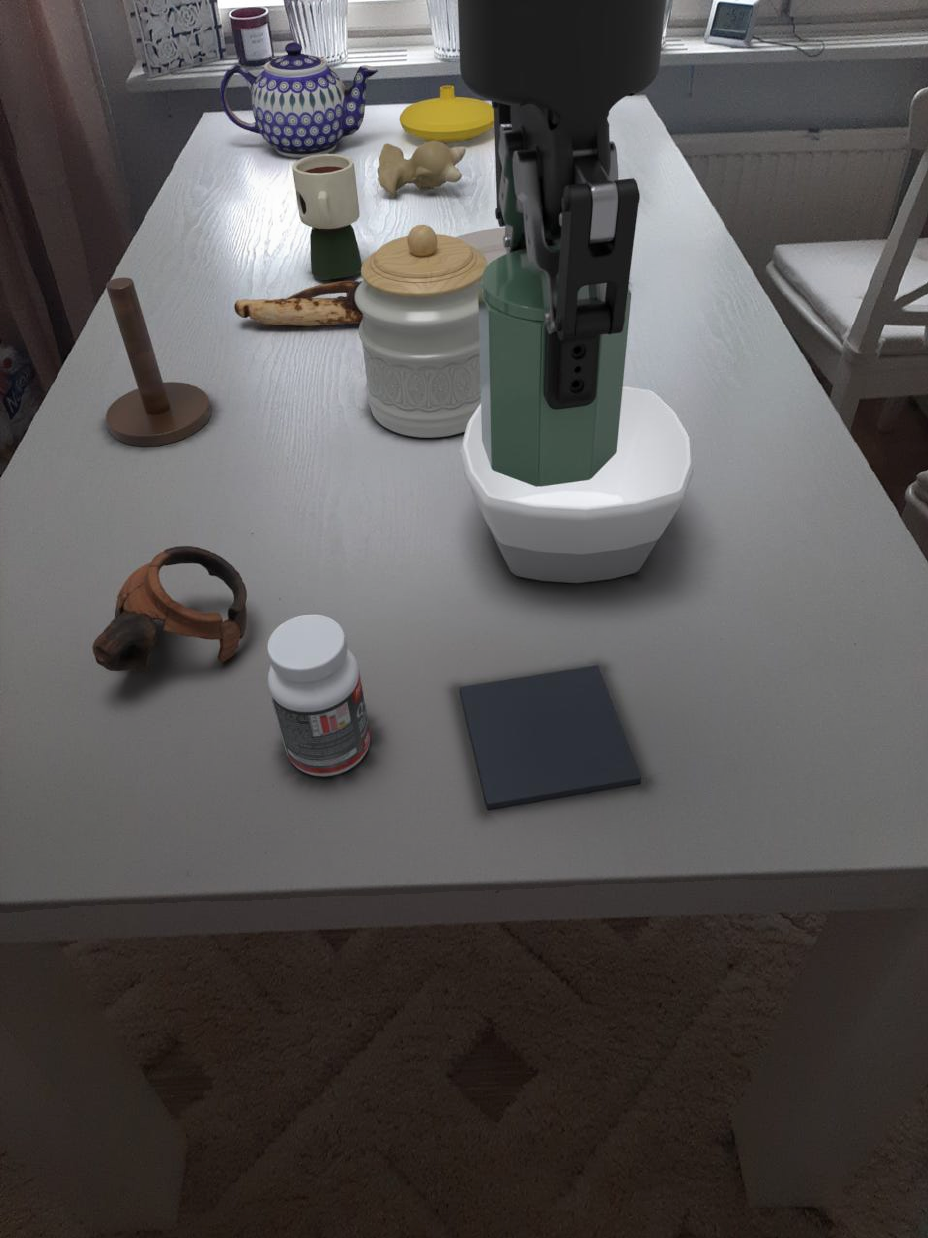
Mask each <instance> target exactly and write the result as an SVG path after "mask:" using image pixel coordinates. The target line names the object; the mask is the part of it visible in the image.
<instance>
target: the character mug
mask: <svg viewBox="0 0 928 1238" xmlns="http://www.w3.org/2000/svg"><path fill="white" fill-rule="evenodd" d="M354 162H355V161H354V160H353V158H351V157H350V156H347V155H344V154H339V153H327V154H320V155H313V156H309V157H305V158H299V159H298V160H296V161H294V162H293V163H292V164H291V170H292V177H293V183H294V184H293V185H294V189H295V196H296V197H295V198H296V204H297V209H298V216H299V219H300V222H301V223H302V224H303V225H305V226H307V227H310V228H311V231H310V236H309V238H310V269H311V270H310V271H311V274H312V276H313V277H314V278H315V279H319V280H323V281H326V280H336V281H337V280H339V279H341V278H347V277H352V276H354V275H358V274H359V273H361V267H362V264H363V261H362V258H361V257H362V256H361V253H360V248H359V245H358V240H357V237H356V233H355V229H354V228H353V226H352V224H354V223H355V222H357V221H358V219H359V218H360V204H359V196H358V188H357V178H356V168H355V163H354Z"/></svg>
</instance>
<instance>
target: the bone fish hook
mask: <svg viewBox="0 0 928 1238" xmlns="http://www.w3.org/2000/svg"><path fill="white" fill-rule="evenodd" d="M362 281H363V280H360V281H359V280H343V281H342V280H341V281H335V282H329V283H323V284H319V285H314V286H312V287H311V286H310V287H308V288H305V289H303V290H300V291H298V292H296V293H294V294H292V295H290V296H288V297H287V298H275V299H274V298H273V299H266V298H261V299H260V298H257V299H245V298H244V299H238V300H236V301H235V303H234V305H233V308H234V313H235V314H236V315H238V316H239V317H240V318H242V319H247V318H250V320H252V321H253V322H255V323H260V324H264V325H268V326H270V325H273V326H275V325H276V326H284V325H285V326H286V325H287V326H295V327H298V326H299V327H301V326H304V327H306V326H308V327H315V326H326V325H327V326H339V325H352V324H353V325H354V324H359V325H360V323H361V321H362V320H363V313H362V312H361V311H360V310H359V308H358V307H357V305H356V303H355V292H356V289H357V287H358V286H359V284H360V283H361V282H362ZM336 294H346V296H344V295H340V296H337V297H328V298H327V297H326V298H321V297H319V296H325V295H336Z"/></svg>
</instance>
